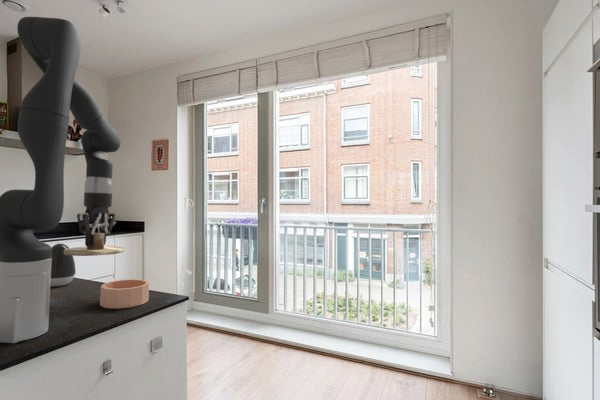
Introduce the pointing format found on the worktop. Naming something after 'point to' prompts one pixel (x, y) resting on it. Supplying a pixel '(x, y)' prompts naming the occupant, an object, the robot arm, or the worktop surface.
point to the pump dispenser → (61, 266)
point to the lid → (94, 248)
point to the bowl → (124, 293)
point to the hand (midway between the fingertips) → (95, 245)
